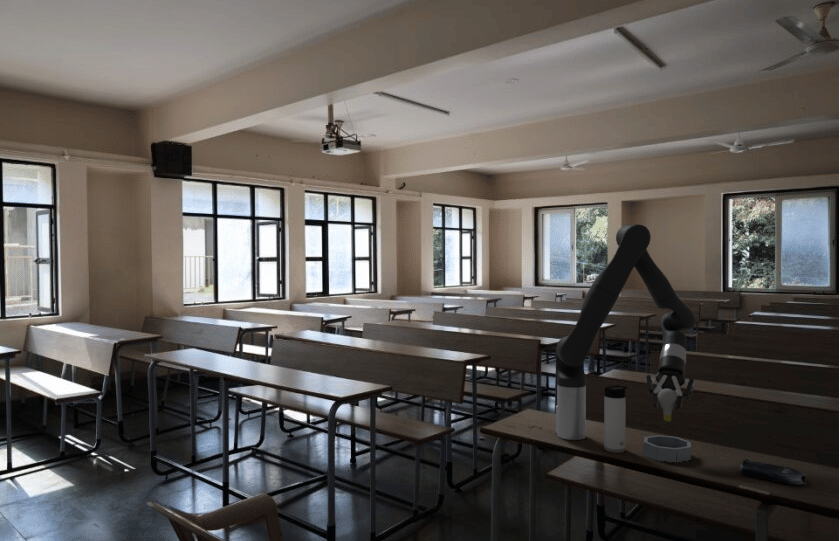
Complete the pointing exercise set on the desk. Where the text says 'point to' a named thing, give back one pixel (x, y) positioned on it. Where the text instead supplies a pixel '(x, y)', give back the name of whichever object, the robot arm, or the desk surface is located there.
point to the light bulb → (667, 402)
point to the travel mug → (614, 418)
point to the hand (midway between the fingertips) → (666, 407)
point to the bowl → (667, 448)
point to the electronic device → (772, 472)
